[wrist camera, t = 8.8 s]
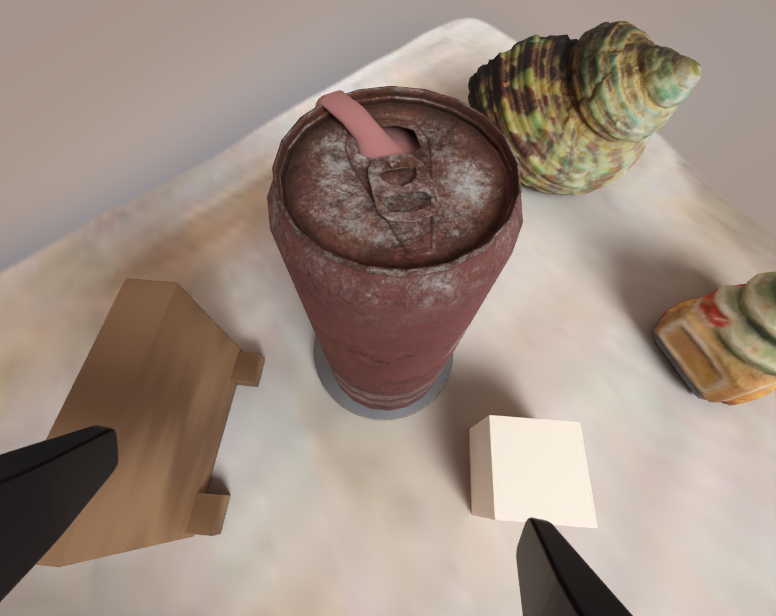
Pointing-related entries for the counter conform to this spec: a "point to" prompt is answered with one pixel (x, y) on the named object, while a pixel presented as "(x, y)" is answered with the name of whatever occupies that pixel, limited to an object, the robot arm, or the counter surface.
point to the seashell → (582, 103)
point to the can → (393, 231)
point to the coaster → (360, 410)
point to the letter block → (530, 471)
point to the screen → (153, 421)
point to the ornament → (725, 341)
